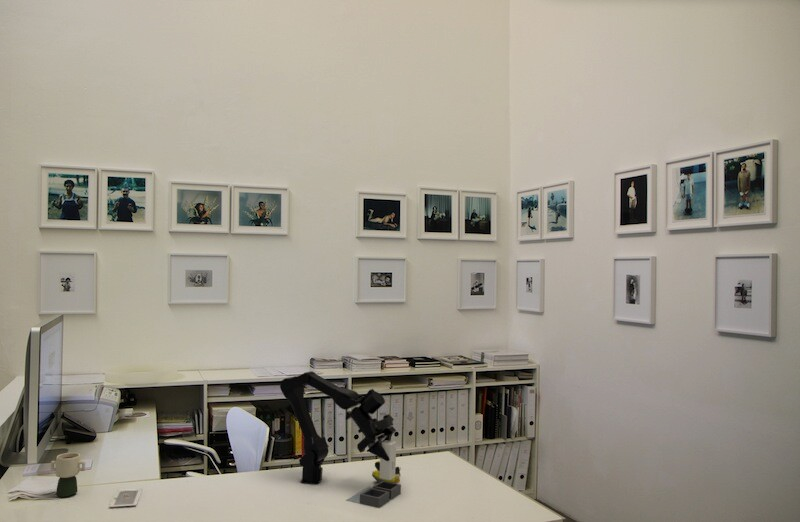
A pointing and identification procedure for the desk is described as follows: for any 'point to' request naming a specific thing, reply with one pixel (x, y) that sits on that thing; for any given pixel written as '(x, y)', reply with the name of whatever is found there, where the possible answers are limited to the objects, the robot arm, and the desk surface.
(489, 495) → the desk surface
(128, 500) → the touchpad
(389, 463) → the plug
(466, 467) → the desk surface
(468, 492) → the desk surface
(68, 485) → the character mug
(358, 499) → the board
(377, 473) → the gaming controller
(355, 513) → the desk surface
